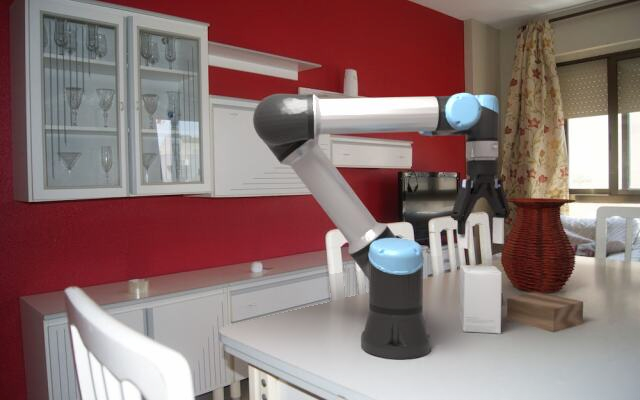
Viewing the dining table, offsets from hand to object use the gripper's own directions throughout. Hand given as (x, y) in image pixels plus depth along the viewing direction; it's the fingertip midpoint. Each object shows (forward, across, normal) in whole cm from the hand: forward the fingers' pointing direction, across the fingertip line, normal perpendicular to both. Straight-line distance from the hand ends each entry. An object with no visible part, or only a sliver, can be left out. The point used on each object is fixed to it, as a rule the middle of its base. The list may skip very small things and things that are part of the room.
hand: (481, 245), depth 123 cm
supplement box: (+21, 0, 0) cm, 21 cm away
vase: (+21, +52, +16) cm, 58 cm away
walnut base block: (+21, +18, -6) cm, 28 cm away
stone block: (+21, +21, +15) cm, 33 cm away
